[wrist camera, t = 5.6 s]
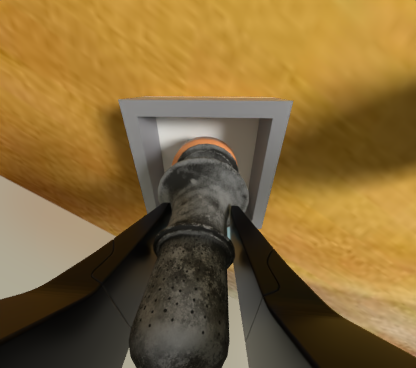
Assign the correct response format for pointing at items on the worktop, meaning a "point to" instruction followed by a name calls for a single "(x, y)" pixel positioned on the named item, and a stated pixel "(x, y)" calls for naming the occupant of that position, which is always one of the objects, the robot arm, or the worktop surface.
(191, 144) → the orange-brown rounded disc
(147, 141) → the grey square tray
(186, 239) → the salt shaker
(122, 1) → the worktop surface
